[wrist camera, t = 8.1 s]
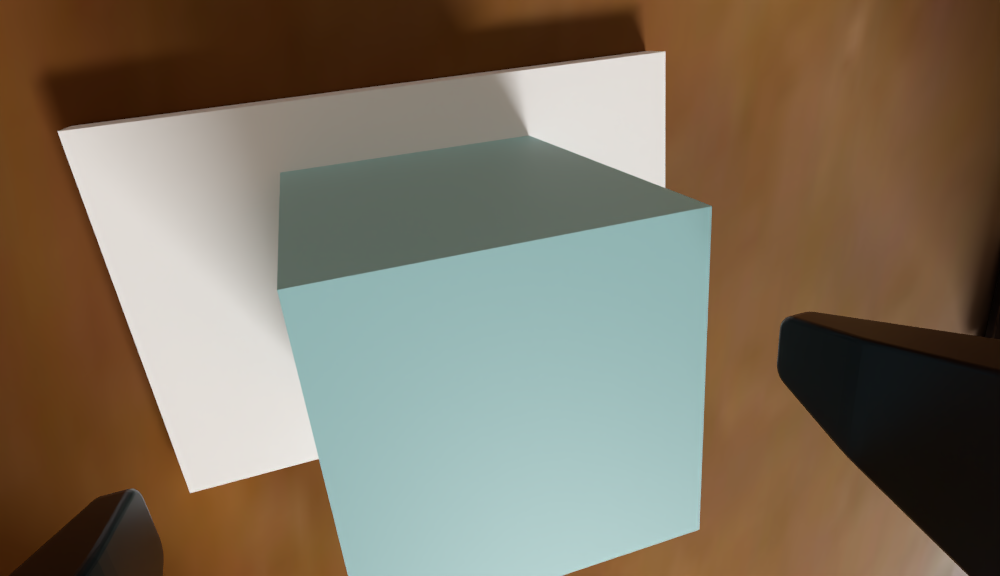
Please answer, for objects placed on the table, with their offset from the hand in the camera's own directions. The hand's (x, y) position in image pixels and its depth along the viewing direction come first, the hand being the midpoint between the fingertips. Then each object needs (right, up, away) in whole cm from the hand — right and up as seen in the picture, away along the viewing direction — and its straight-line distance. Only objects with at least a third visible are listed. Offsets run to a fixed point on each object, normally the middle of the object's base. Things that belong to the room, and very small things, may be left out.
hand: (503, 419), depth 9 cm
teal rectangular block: (-2, +2, +6) cm, 6 cm away
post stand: (-2, +2, +6) cm, 7 cm away
